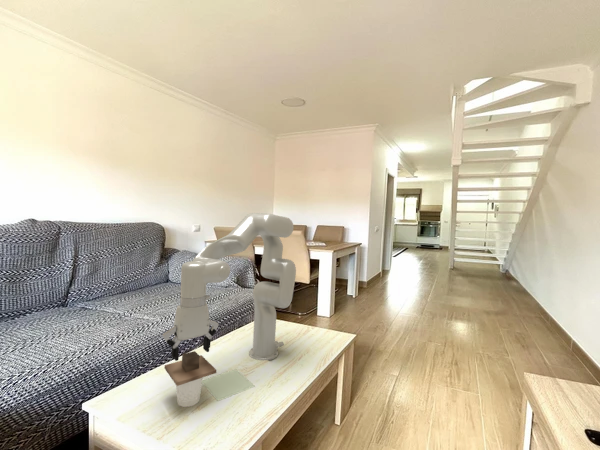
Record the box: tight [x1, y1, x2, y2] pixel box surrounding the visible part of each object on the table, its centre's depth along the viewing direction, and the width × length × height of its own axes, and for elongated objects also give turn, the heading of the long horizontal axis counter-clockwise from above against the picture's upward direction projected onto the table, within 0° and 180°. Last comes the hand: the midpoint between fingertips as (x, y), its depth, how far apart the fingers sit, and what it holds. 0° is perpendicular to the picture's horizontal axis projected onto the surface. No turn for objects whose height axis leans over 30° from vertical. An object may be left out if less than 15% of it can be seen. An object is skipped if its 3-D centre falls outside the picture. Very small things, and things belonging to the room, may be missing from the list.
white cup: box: [176, 378, 203, 408], centre depth 91 cm, size 8×8×10 cm
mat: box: [202, 368, 256, 402], centre depth 101 cm, size 14×14×1 cm
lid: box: [164, 350, 217, 387], centre depth 91 cm, size 12×12×5 cm
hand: (191, 354), depth 91 cm, fingers open, 9 cm apart
